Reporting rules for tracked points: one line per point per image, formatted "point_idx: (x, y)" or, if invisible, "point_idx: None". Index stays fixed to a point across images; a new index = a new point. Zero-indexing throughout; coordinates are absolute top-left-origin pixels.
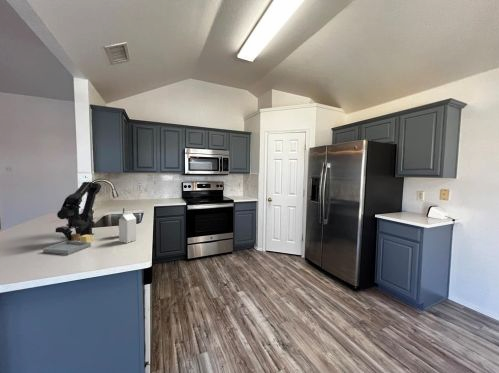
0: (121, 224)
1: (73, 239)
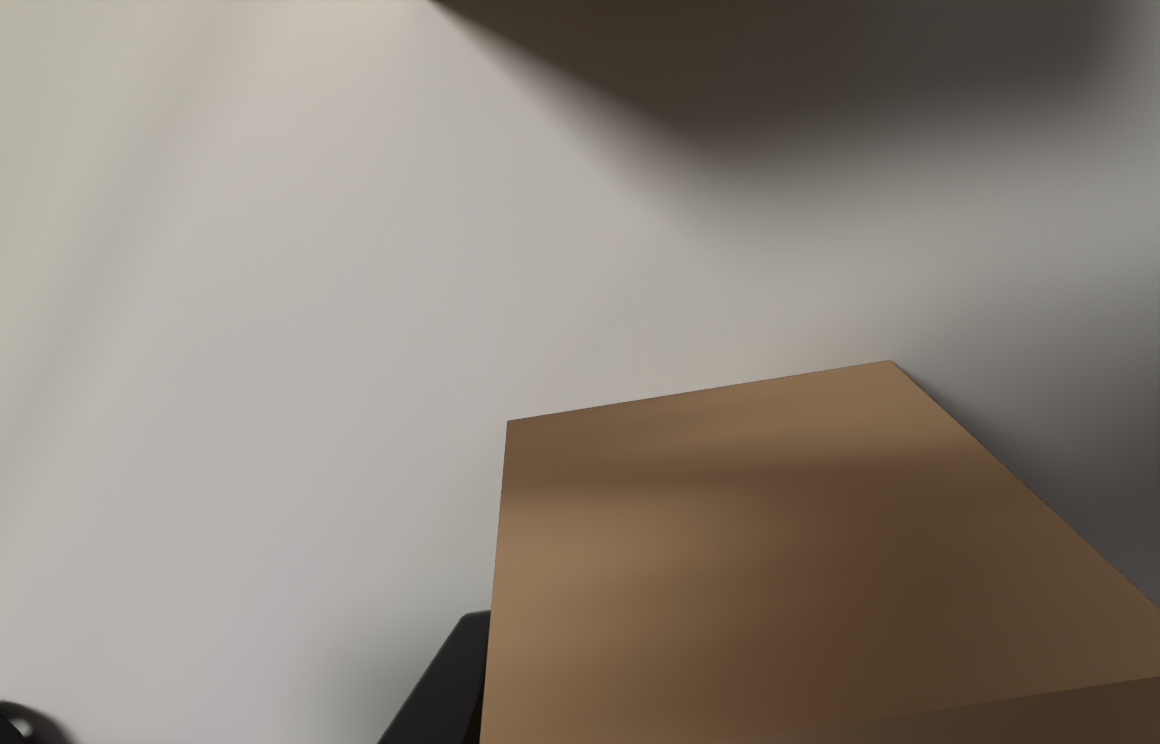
0: None
1: (997, 480)
